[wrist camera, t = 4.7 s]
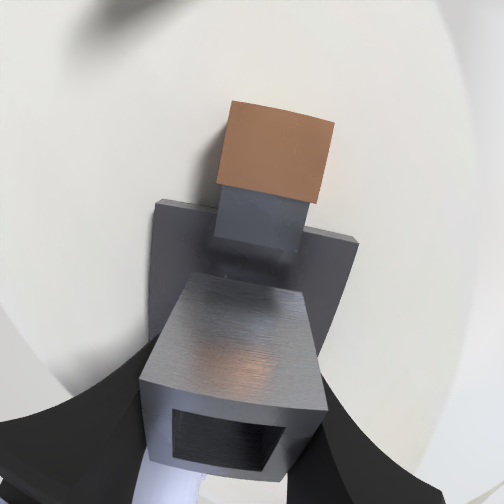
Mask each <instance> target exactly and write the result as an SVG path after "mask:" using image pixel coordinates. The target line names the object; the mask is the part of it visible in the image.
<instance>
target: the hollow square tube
mask: <svg viewBox="0 0 504 504" xmlns="http://www.w3.org/2000/svg"><path fill="white" fill-rule="evenodd" d="M139 387H140V397H141V406H142V414H143V422H144V430H145V436H146V443H147V449H148V455H149V461H152V462H156V463H160V464H163V465H167V466H171V467H175V468H180V469H184V470H189V471H194V472H199V473H204V474H210V475H216V476H222V477H229V478H237V479H245V480H255V481H268V482H280V481H281V480H282V479H283V477H284V476H285V475H286V473H287V472H288V471H289V469H290V468H291V467H292V465H293V464H294V462H295V461H296V460H297V458H298V457H299V455H300V454H301V452H302V451H303V449H304V448H305V447H306V445H307V444H308V442H309V441H310V439H311V437H312V436H313V434H314V433H315V431H316V430H317V428H318V427H319V425H320V423H321V422H322V420H323V419H324V417H325V415H326V414H327V412H328V406H327V401H326V396H325V391H324V387H323V382H322V377H321V373H320V368H319V363H318V359H317V354H316V350H315V345H314V341H313V337H312V332H311V328H310V324H309V320H308V315H307V311H306V307H305V303H304V299H303V295H302V292H297V291H291V290H285V289H280V288H274V287H269V286H264V285H258V284H253V283H248V282H243V281H237V280H232V279H227V278H222V277H217V276H212V275H207V274H202V273H197V272H192V274H191V276H190V278H189V280H188V282H187V284H186V285H185V287H184V289H183V291H182V293H181V295H180V297H179V299H178V301H177V303H176V305H175V307H174V309H173V310H172V312H171V314H170V316H169V318H168V320H167V322H166V324H165V326H164V328H163V330H162V332H161V334H160V336H159V338H158V340H157V342H156V344H155V346H154V348H153V350H152V352H151V354H150V356H149V359H148V361H147V363H146V365H145V367H144V369H143V371H142V373H141V375H140V377H139Z"/></svg>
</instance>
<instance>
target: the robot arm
mask: <svg viewBox="0 0 504 504" xmlns="http://www.w3.org/2000/svg"><path fill="white" fill-rule="evenodd" d="M159 336H160V335H159V334H158V335H156V336H154V337H153V338H152V339H151V340H150V341H149V342H148V343H147V344H146V345H145V346H144V347H143V348H142V349H141V350H140V351H138V352H137V353H136V354H135V355H134V356H133V357H132V358H130V359H129V360H128V361H127V362H126V363H124V364H123V365H122V366H121V367H119V368H118V369H117V370H116V371H114V372H113V373H111V374H110V375H109V376H107V377H106V378H105V379H103V380H102V381H100V382H99V383H97V384H96V385H94V386H93V387H91V388H89V389H88V390H86V391H84V392H83V393H81V394H79V395H77V396H75V397H73V398H71V399H70V400H67V401H65V402H63V403H61V404H59V405H57V406H55V407H52V408H49V409H46V410H44V411H41V412H38V413H36V414H33V415H29V416H26V417H23V418H18V419H13V420H9V421H4V422H0V476H1V477H2V478H3V480H2V482H1V484H0V504H197V498H198V492H199V487H200V481H201V480H205V476H206V474H204V473H199V472H194V471H189V470H184V469H180V468H175V467H171V466H167V465H163V464H160V463H156V462H152V461H149V455H148V449H147V443H146V436H145V430H144V422H143V414H142V406H141V397H140V387H139V377H140V375H141V373H142V371H143V369H144V367H145V365H146V363H147V361H148V359H149V356H150V354H151V352H152V350H153V348H154V346H155V344H156V342H157V340H158V338H159ZM321 377H322V382H323V387H324V391H325V396H326V401H327V406H328V412H327V414H326V415H325V417H324V419H323V420H322V422H321V423H320V425H319V427H318V428H317V430H316V431H315V433H314V434H313V436H312V437H311V439H310V441H309V442H308V444H307V445H306V447H305V448H304V449H303V451H302V452H301V454H300V455H299V457H298V458H297V460H296V461H295V462H294V464H293V465H292V467H291V468H290V469H289V471H288V472H287V475H288V483H287V504H446V503H445V500H444V497H443V494H442V492H441V491H440V490H438V489H436V488H435V487H433V486H431V485H429V484H427V483H425V482H423V481H421V480H420V479H418V478H416V477H415V476H413V475H412V474H410V473H409V472H407V471H406V470H404V469H403V468H402V467H400V466H399V465H398V464H396V463H395V462H394V461H393V460H392V459H390V458H389V457H388V456H387V455H386V454H384V453H383V452H382V451H381V450H380V449H379V448H378V447H377V446H376V445H375V444H374V443H373V442H372V441H371V440H370V439H369V438H368V437H367V436H366V435H365V434H364V433H363V432H362V431H361V429H360V428H359V427H358V426H357V425H356V423H355V422H354V421H353V420H352V418H351V417H350V416H349V415H348V413H347V412H346V410H345V409H344V408H343V406H342V405H341V403H340V402H339V400H338V399H337V398H336V396H335V395H334V393H333V392H332V390H331V388H330V387H329V385H328V384H327V382H326V381H325V379H324V377H323V376H322V374H321Z"/></svg>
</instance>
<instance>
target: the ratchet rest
mask: <svg viewBox="0 0 504 504" xmlns="http://www.w3.org/2000/svg"><path fill="white" fill-rule="evenodd" d="M334 124H335V123H334V122H330V121H326V120H323V119H319V118H315V117H311V116H307V115H303V114H299V113H295V112H290V111H286V110H281V109H276V108H271V107H266V106H261V105H256V104H250V103H244V102H238V101H232V103H231V108H230V113H229V117H228V122H227V127H226V133H225V138H224V143H223V148H222V154H221V159H220V164H219V170H218V176H217V181H216V184H222V189H221V195H220V201H219V207H218V209H217V208H212V207H206V206H201V205H195V204H190V203H184V202H178V201H172V200H166V199H162V200H160V201H158V202H157V203H155V212H154V223H153V234H152V247H151V263H150V285H149V341H150V340H151V339H152V338H153V337H154V336H156V335H158V334H159V335H160V334H161V332H162V330H163V328H164V326H165V324H166V322H167V320H168V318H169V316H170V314H171V312H172V310H173V309H174V307H175V305H176V303H177V301H178V299H179V297H180V295H181V293H182V291H183V289H184V287H185V285H186V284H187V282H188V280H189V278H190V276H191V274H192V272H197V273H202V274H207V275H212V276H217V277H222V278H227V279H232V280H237V281H243V282H248V283H253V284H258V285H264V286H269V287H274V288H280V289H285V290H291V291H297V292H302V295H303V299H304V303H305V307H306V311H307V315H308V320H309V324H310V328H311V332H312V337H313V341H314V345H315V350H316V354H317V357H318V355H319V353H320V350H321V348H322V345H323V343H324V341H325V338H326V336H327V333H328V331H329V328H330V326H331V323H332V320H333V318H334V315H335V313H336V310H337V307H338V305H339V302H340V299H341V296H342V294H343V291H344V288H345V285H346V282H347V279H348V276H349V274H350V271H351V268H352V265H353V261H354V258H355V255H356V252H357V249H358V246H359V243H358V242H357V241H356V240H355V239H354V237H352V236H347V235H343V234H339V233H334V232H330V231H325V230H321V229H316V228H312V227H307V226H304V224H305V220H306V216H307V212H308V208H309V204H310V203H315V204H316V203H317V199H318V195H319V191H320V187H321V182H322V178H323V174H324V169H325V165H326V161H327V156H328V152H329V147H330V143H331V138H332V133H333V128H334Z"/></svg>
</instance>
